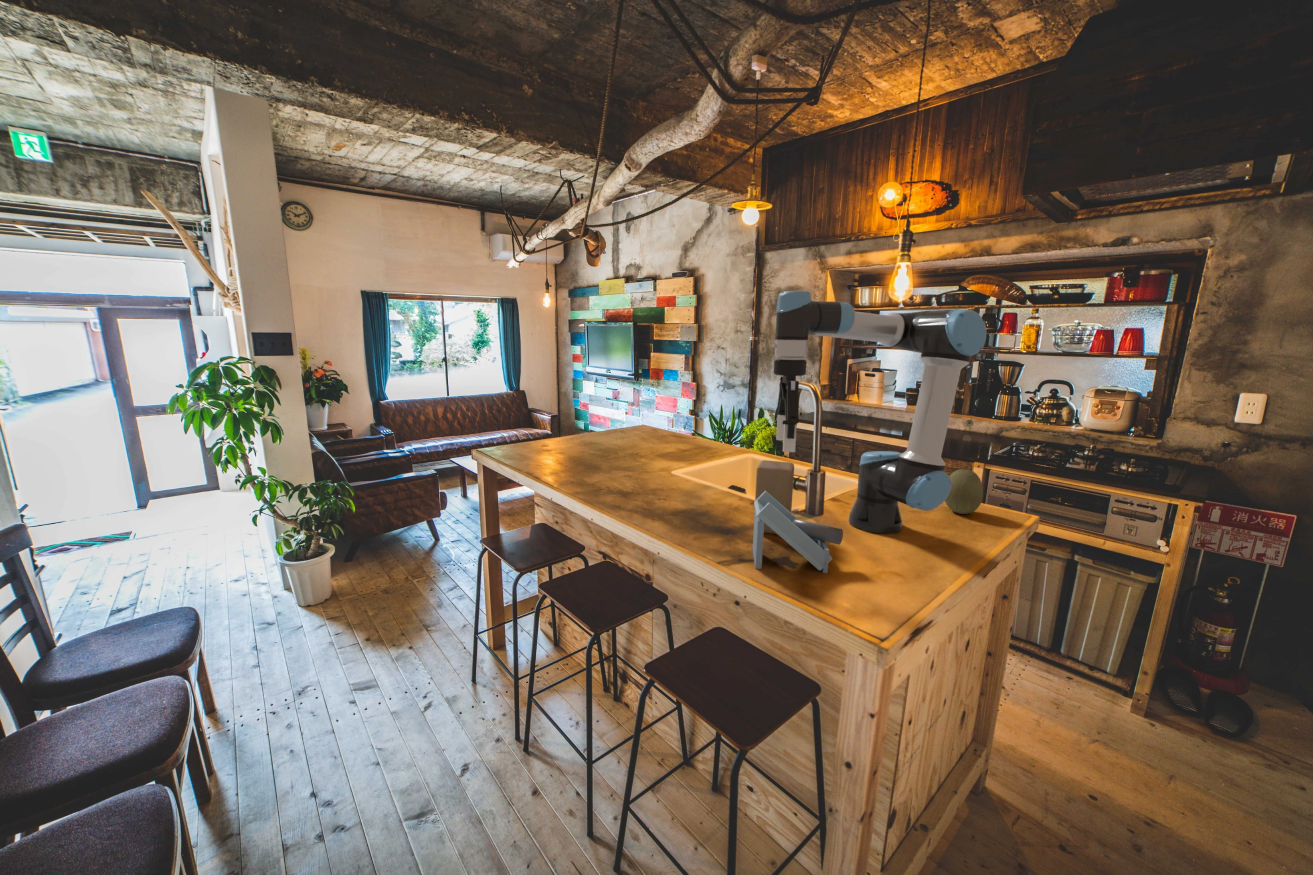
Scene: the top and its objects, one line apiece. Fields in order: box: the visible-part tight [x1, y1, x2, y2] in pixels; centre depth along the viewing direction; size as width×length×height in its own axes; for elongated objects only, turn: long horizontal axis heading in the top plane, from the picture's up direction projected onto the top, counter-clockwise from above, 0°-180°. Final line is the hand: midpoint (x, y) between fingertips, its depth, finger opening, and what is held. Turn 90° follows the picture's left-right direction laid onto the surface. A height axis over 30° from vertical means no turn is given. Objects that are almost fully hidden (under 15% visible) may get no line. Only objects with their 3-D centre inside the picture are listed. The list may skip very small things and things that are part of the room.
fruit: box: [944, 468, 984, 515], centre depth 169 cm, size 11×11×15 cm
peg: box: [792, 518, 844, 545], centre depth 130 cm, size 4×4×12 cm
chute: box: [752, 491, 834, 574], centre depth 130 cm, size 19×10×17 cm, turn 83°
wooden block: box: [753, 459, 795, 535], centre depth 152 cm, size 10×10×20 cm
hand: (785, 445), depth 126 cm, fingers open, 13 cm apart
